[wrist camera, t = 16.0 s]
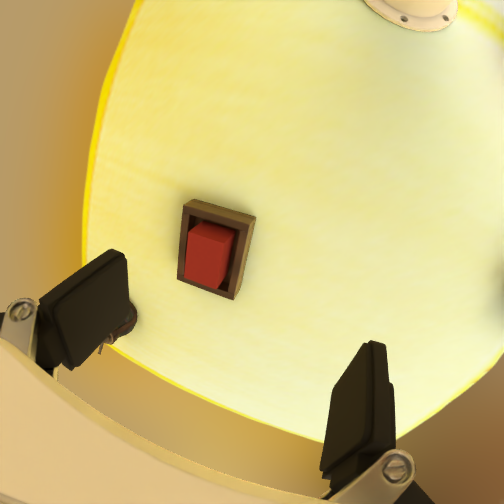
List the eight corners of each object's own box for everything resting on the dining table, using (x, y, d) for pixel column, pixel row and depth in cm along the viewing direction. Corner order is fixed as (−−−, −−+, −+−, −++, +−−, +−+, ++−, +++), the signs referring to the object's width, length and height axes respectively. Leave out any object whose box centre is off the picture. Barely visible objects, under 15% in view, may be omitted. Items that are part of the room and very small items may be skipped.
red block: (202, 220, 36) (188, 231, 32) (236, 230, 35) (224, 243, 32) (197, 263, 39) (183, 277, 35) (227, 274, 38) (216, 289, 35)
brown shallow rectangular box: (193, 198, 36) (183, 204, 33) (256, 216, 34) (249, 224, 32) (185, 269, 41) (176, 279, 39) (240, 289, 40) (233, 300, 37)
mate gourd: (137, 295, 47) (102, 328, 38) (146, 328, 50) (116, 362, 41) (108, 287, 49) (74, 317, 40) (118, 319, 52) (88, 349, 43)
